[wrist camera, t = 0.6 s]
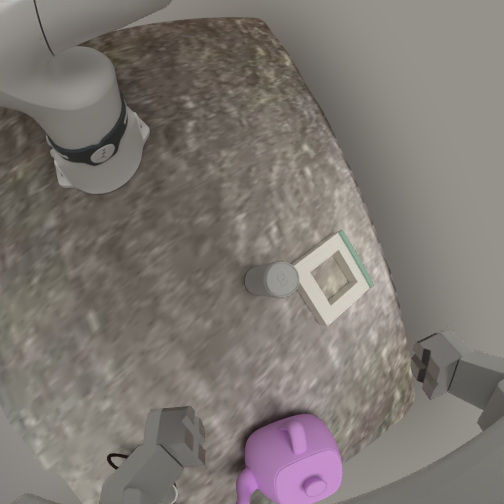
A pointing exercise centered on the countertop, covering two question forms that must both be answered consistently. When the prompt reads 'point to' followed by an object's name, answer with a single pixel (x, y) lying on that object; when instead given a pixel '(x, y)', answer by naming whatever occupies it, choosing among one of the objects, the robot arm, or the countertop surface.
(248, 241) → the countertop surface
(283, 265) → the beverage can
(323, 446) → the teapot
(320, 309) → the socket block
